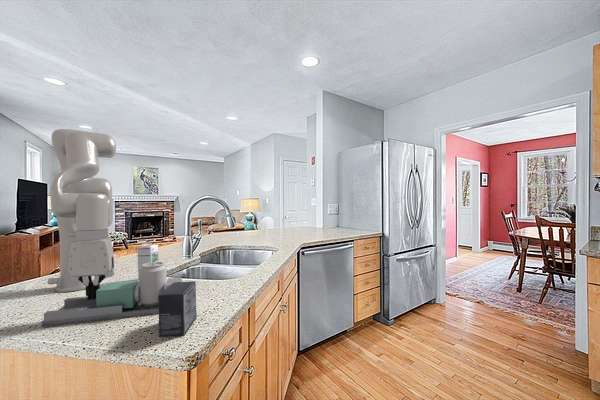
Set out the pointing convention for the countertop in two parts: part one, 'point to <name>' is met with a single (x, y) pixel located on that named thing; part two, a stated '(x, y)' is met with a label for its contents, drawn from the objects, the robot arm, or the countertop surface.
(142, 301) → the can
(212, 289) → the countertop surface
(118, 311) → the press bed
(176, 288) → the small box
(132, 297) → the block
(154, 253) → the syrup box
